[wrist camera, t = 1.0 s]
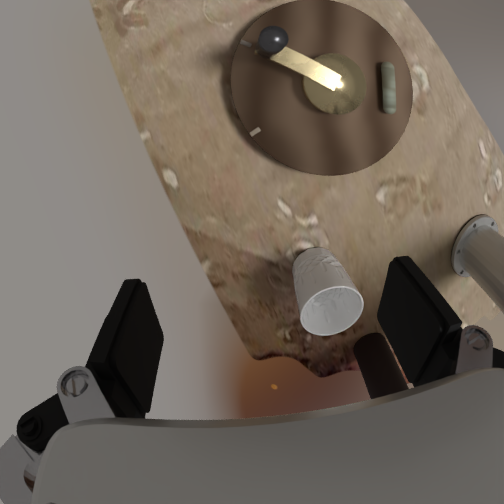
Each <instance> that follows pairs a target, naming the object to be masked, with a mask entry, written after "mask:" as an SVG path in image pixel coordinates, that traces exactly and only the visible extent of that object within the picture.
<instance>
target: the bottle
mask: <svg viewBox="0 0 504 504" xmlns="http://www.w3.org/2000/svg"><path fill="white" fill-rule="evenodd" d="M354 354H355V357H356V359H357V362H358V365H359V367H360V370H361V372H362V375H363V378H364V381H365V384H366V387H367V389H368V392H369V395H370V398H371V399H375V398H379V397H383V396H386V395H390V394H394V393H397V392H401V391H404V390H408V389H409V388H408V386H407V384H406V382H405V379H404V377H403V375H402V373H401V371H400V368H399V366H398V364H397V362H396V360H395V358H394V356H393V353H392V351H391V349H390V347H389V345H388V343H387V341H386V339H385V337H384V336H383V335H382V334H379V333H373V334H369V335H366V336H365V337H363V338H361V339H360V340H359V341H358V342H357V343H356V345H355V347H354Z"/></svg>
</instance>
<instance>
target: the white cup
mask: <svg viewBox="0 0 504 504" xmlns="http://www.w3.org/2000/svg"><path fill="white" fill-rule="evenodd" d="M292 274H293V279H294V288H295V294H296V299H297V305H298V310H299V315H300V321H301V324H302V326H303V327H304V328H305V329H306V330H307V331H308V332H310V333H312V334H315V335H320V336H327V335H333V334H337V333H340V332H342V331H344V330H346V329H347V328H349V327H350V326H352V325H353V324H354V323H355V322H356V321H357V320H358V318H359V317H360V315H361V313H362V310H363V305H364V304H363V298H362V296H361V294H360V293H359V291H358V290H357V288H356V286H355V285H354V283H353V281H352V280H351V278H350V277H349V275H348V273H347V272H346V271H345V269H344V268H343V266H342V265H341V264H340V262H339V261H338V260H337V258H336V257H335V255H334V254H333V253H332V252H330V251H329V250H328V249H324V248H320V247H317V248H311V249H307V250H306V251H304V252H303V253H301V254H299V256H298V257H297V258H296V260H295V261H294V263H293V269H292Z"/></svg>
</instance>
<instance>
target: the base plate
mask: <svg viewBox="0 0 504 504" xmlns="http://www.w3.org/2000/svg"><path fill="white" fill-rule="evenodd" d="M268 26H278V27H281V28H282V29H284V30H285V31H286V32H287V34H288V38H289V40H288V43H287V45H286V46H285V47H288V48H290V49H292V50H294V51H296V52H298V53H300V54H302V55H304V56H306V57H308V58H310V59H312V60H313V59H315V58H317V57H319V56H321V55H324V54H329V53H335V54H341V55H344V56H346V57H348V58H350V59H351V60H353V61H354V62H355V63H356V64H357V65H358V66H359V67H360V69H361V70H362V72H363V74H364V76H365V80H366V94H365V97H364V100H363V101H362V103H361V104H360V106H359V107H358V108H356V109H355V110H354V111H352V112H350V113H347V114H341V115H337V114H330V113H325V112H322V111H320V110H318V109H317V108H315V107H314V106H312V105H311V104H310V103H309V101H308V100H307V99H306V97H305V95H304V93H303V90H302V86H301V77H302V75H300V74H298V73H296V72H293V71H291V70H289V69H287V68H285V67H283V66H281V65H279V64H276V63H274V62H272V61H270V60H267V59H265V58H262V57H260V56H258V55H255V54H254V52H255V50H256V44H257V41H258V38H259V35H260V33H261V31H262V30H263V29H264V28H266V27H268ZM231 91H232V96H233V101H234V104H235V107H236V110H237V113H238V115H239V117H240V119H241V121H242V124H243V125H244V127H245V128H246V130H247V131H248V133H249V134H250V136H251V137H252V138H253V139H254V140H255V142H256V143H257V144H258V145H259V146H260V147H261V148H262V149H263V150H265V151H266V152H267V153H268V154H269V155H271V156H272V157H274V158H275V159H276V160H278V161H280V162H281V163H283V164H285V165H287V166H289V167H291V168H294V169H296V170H299V171H302V172H306V173H310V174H316V175H328V176H335V175H344V174H349V173H353V172H357V171H359V170H362V169H365V168H367V167H369V166H371V165H372V164H374V163H376V162H377V161H379V160H380V159H381V158H383V157H384V156H385V155H386V154H387V153H388V152H389V151H391V150H392V148H393V147H394V146H395V145H396V143H397V142H398V141H399V139H400V138H401V136H402V134H403V133H404V131H405V128H406V126H407V124H408V121H409V117H410V114H411V108H412V101H413V89H412V80H411V75H410V71H409V68H408V65H407V62H406V60H405V57H404V55H403V53H402V51H401V49H400V48H399V46H398V45H397V43H396V42H395V40H394V39H393V38H392V36H391V35H390V34H389V33H388V32H387V31H386V30H385V29H384V28H383V27H382V26H381V25H380V24H379V23H378V22H377V21H375V20H374V19H373V18H371V17H370V16H368V15H367V14H365V13H363V12H362V11H360V10H358V9H356V8H353V7H351V6H349V5H346V4H343V3H339V2H335V1H330V0H297V1H293V2H289V3H286V4H283V5H281V6H278V7H276V8H274V9H272V10H270V11H269V12H267V13H265V14H264V15H262V16H261V17H260V18H259V19H258V20H256V21H255V22H254V23H253V24H252V25H251V27H250V28H249V29H248V30H247V31H246V33H245V34H244V36H243V37H242V39H241V40H240V42H239V45H238V47H237V49H236V51H235V54H234V58H233V62H232V68H231Z"/></svg>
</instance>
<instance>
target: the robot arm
mask: <svg viewBox="0 0 504 504" xmlns="http://www.w3.org/2000/svg"><path fill="white" fill-rule="evenodd" d="M451 262H452V267H453V269H454V270H455V272H456V273H457V274H458V275H459V276H462V277H469V276H471V277H472V278H473V279H474V280H475V281H476V282H477V283H478V284H479V286H480V287H481V288H482V289H483V290H484V291H485V292H486V293H487V294H488V296H489V297H490V298H491V299H492V300H493V301H494V303H495V304H496V305H497V306H498V307H499V308H500V310H501V311H502V312H503V313H504V237H503V236H501V235H500V234H499V233H498V227H497V224H496V222H495V220H494V219H493V218H491V217H490V216H488V215H479V216H476V217H475V218H473V219H472V220H470V221H469V222H468V223H467V224H466V225H465V226H464V228H463V229H462V230H461V232H460V233H459V235H458V237H457V239H456V241H455V244H454V247H453V250H452V256H451ZM377 318H378V321H379V323H380V325H381V327H382V329H383V331H384V333H385V335H386V337H387V339H388V341H389V342H390V344H391V346H392V348H393V350H394V352H395V354H396V356H397V359H398V361H399V363H400V365H401V367H402V369H403V371H404V373H405V375H406V377H407V379H408V381H409V382H410V383H413V386H414V388H411V389H408V390H404V391H401V392H397V393H394V394H390V395H386V396H383V397H379V398H375V399H371V400H366V401H362V402H358V403H353V404H348V405H344V406H339V407H334V408H328V409H322V410H316V411H310V412H303V413H296V414H288V415H279V416H270V417H259V418H245V419H228V420H162V419H145V414H146V413H148V412H149V411H150V408H151V402H152V397H153V391H154V386H155V380H156V375H157V370H158V365H159V360H160V355H161V351H162V346H163V341H164V338H163V337H164V336H163V332H162V329H161V326H160V324H159V321H158V318H157V315H156V312H155V309H154V306H153V303H152V301H151V298H150V294H149V292H148V289H147V285H146V283H144V282H141V280H140V279H127V280H125V281H124V282H123V284H122V286H121V288H120V291H119V292H118V295H117V297H116V299H115V301H114V303H113V305H112V307H111V310H110V312H109V314H108V315H107V317H106V318H105V320H104V323H103V325H102V327H101V329H100V332H99V335H98V337H97V339H96V342H95V344H94V346H93V348H92V351H91V353H90V356H89V359H88V361H87V364H86V366H85V367H82V366H76V367H72V368H70V369H68V370H66V371H65V372H64V373H63V374H62V375H61V376H60V378H59V380H58V383H57V392H58V393H57V394H55V395H54V396H52V397H51V398H49V399H47V400H46V401H45V402H43V403H41V404H39V405H38V406H36V407H34V408H33V409H31V410H30V411H28V412H26V413H25V414H24V415H23V416H22V417H21V418H20V420H19V421H18V424H17V436H16V437H15V436H14V435H12V436H11V437H10V438H9V439H8V440H7V441H6V443H5V444H4V445H3V446H2V447H1V448H0V498H1V500H2V501H3V503H4V504H504V352H503V351H501V350H498V349H496V348H493V341H492V338H491V336H490V335H489V333H488V332H487V331H486V330H484V329H483V328H481V327H479V326H475V325H469V326H467V327H465V328H464V329H462V328H461V324H462V321H461V320H460V319H459V317H458V316H457V314H456V313H455V312H454V311H453V309H452V308H451V307H450V305H449V304H448V303H447V301H446V300H445V299H444V298H443V296H442V295H441V294H440V293H439V291H438V290H437V289H436V288H435V286H434V285H433V284H432V283H431V282H430V280H429V279H428V278H427V277H426V276H425V274H424V273H423V272H422V271H421V270H420V268H419V267H418V266H417V265H416V264H415V263H414V262H413V260H412V259H411V258H410V257H409V256H401V257H395V258H394V259H393V261H391V262H390V264H389V268H388V273H387V277H386V281H385V285H384V289H383V293H382V297H381V301H380V305H379V309H378V313H377Z"/></svg>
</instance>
